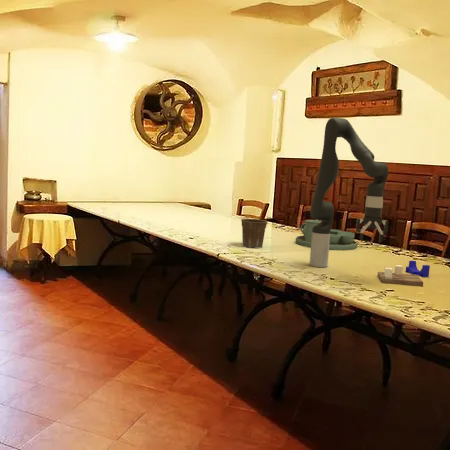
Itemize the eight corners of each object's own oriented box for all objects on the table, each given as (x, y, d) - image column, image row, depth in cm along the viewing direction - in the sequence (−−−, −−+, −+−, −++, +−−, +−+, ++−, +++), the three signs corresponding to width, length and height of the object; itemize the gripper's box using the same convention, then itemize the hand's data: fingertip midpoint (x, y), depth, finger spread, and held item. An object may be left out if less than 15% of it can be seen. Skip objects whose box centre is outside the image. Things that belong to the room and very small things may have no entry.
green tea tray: (354, 253, 312) (357, 226, 310) (289, 246, 325) (291, 220, 323) (359, 244, 350) (361, 220, 348) (301, 238, 362) (302, 215, 360)
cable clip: (405, 272, 262) (406, 260, 262) (413, 272, 264) (414, 260, 263) (420, 277, 251) (422, 265, 250) (428, 277, 252) (429, 265, 252)
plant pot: (271, 248, 312) (273, 221, 310) (251, 249, 302) (252, 222, 300) (254, 243, 325) (255, 218, 323) (234, 245, 315) (235, 219, 313)
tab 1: (384, 276, 238) (384, 267, 238) (390, 276, 238) (391, 268, 237) (385, 277, 235) (385, 268, 235) (391, 278, 235) (392, 269, 234)
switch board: (377, 275, 249) (377, 271, 249) (416, 279, 246) (416, 274, 246) (381, 282, 234) (382, 278, 234) (422, 286, 231) (423, 281, 231)
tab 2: (394, 273, 246) (395, 265, 245) (400, 273, 245) (401, 265, 245) (395, 274, 243) (396, 266, 242) (402, 275, 243) (402, 266, 242)
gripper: (389, 206, 236) (385, 242, 238) (357, 204, 238) (353, 239, 240) (391, 208, 229) (387, 244, 231) (358, 205, 231) (355, 241, 233)
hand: (370, 241), depth 236 cm, fingers open, 7 cm apart
